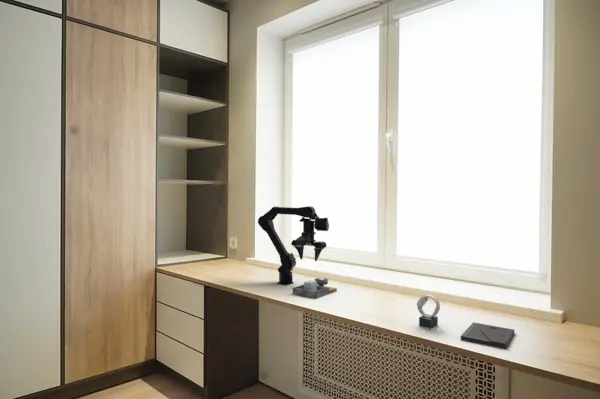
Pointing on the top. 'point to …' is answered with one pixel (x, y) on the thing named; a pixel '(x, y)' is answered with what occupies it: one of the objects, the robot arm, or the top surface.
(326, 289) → the tray
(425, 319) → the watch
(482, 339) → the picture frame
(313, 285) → the grey-blue block
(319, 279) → the wheel
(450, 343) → the top surface
